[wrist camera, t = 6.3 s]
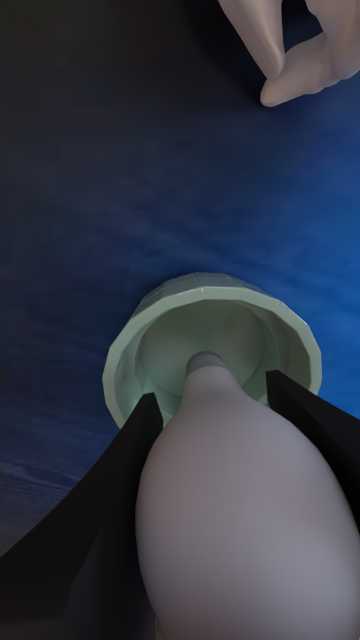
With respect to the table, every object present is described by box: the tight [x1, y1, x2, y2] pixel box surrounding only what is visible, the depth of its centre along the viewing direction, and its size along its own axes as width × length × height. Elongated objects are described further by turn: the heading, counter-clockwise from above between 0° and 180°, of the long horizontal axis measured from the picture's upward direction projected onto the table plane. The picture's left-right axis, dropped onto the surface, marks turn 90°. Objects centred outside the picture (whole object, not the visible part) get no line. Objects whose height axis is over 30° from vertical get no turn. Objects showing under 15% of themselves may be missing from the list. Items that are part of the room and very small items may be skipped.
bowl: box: [102, 272, 322, 429], centre depth 13 cm, size 12×12×5 cm
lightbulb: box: [135, 351, 360, 640], centre depth 9 cm, size 6×6×11 cm
